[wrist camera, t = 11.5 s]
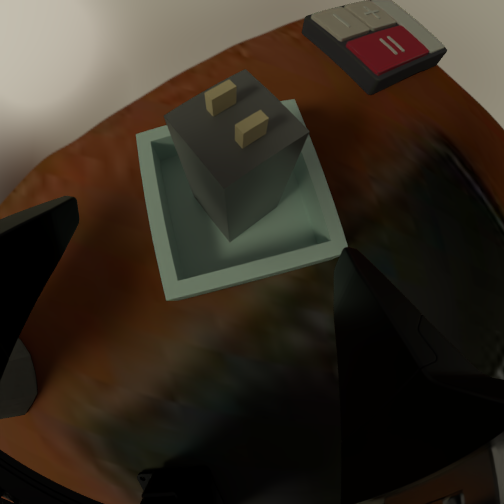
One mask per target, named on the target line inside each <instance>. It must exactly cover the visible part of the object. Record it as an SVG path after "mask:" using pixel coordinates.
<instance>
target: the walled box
mask: <svg viewBox="0 0 504 504" xmlns="http://www.w3.org/2000/svg"><path fill="white" fill-rule="evenodd" d="M280 102H281V103H282V104H283V105H284V106H285V107H286V108H287V109H288V110H289V111H290V112H291V113H292V114H293V115H294V116H295V117H296V118H297V119H298V120H299V121H300V122H301V123H302V124H303V125H304V126H305V123H304V121H303V118H302V116H301V114H300V111H299V109H298V107H297V104H296V102H295V99H293V100H286V101H280ZM305 127H306V126H305ZM136 139H137V147H138V155H139V162H140V169H141V176H142V182H143V189H144V195H145V201H146V206H147V212H148V218H149V223H150V228H151V233H152V238H153V243H154V248H155V253H156V258H157V262H158V267H159V271H160V276H161V280H162V284H163V289H164V293H165V297H166V301H172V300H182V299H186V298H190V297H194V296H198V295H202V294H206V293H210V292H214V291H218V290H221V289H225V288H229V287H233V286H237V285H241V284H244V283H248V282H252V281H256V280H259V279H263V278H267V277H271V276H274V275H278V274H282V273H285V272H289V271H292V270H296V269H300V268H303V267H307V266H310V265H314V264H317V263H321V262H325V261H328V260H331V259H334V258H336V257H338V256H340V255H341V252H342V250H343V248H345V247H348V245H347V242H346V239H345V236H344V232H343V229H342V226H341V223H340V220H339V217H338V214H337V210H336V207H335V204H334V201H333V199H332V196H331V193H330V190H329V187H328V184H327V181H326V178H325V176H324V173H323V170H322V167H321V165H320V162H319V159H318V157H317V154H316V151H315V149H314V146H313V143H312V141H311V138H310V136H309V135H308V137H307V139H306V141H305V144H304V146H303V148H302V151H301V153H300V155H299V157H298V160H297V162H296V164H295V167H294V169H293V171H292V173H291V176H290V178H289V180H288V183H287V185H286V187H285V189H284V192H283V194H282V196H281V198H280V201H279V203H278V205H277V207H276V208H275V209H274V210H272V211H271V212H269V213H268V214H267V215H265V216H264V217H263V218H261V219H260V220H259V221H257V222H256V223H255V224H254V225H252V226H251V227H250V228H248V229H247V230H246V231H244V232H243V233H242V234H240V235H239V236H238V237H236V238H235V239H234V240H232V241H231V242H229V241H228V240H227V238H226V237H225V236H224V235H223V233H222V232H221V231H220V230H219V228H218V227H217V226H216V224H215V223H214V222H213V221H212V219H211V218H210V217H209V215H208V214H207V213H206V212H205V210H204V209H203V208H202V206H201V205H200V204H199V203H198V201H197V200H196V199H195V197H194V195H193V192H192V190H191V187H190V185H189V182H188V180H187V177H186V174H185V172H184V169H183V167H182V164H181V161H180V159H179V156H178V153H177V151H176V148H175V145H174V143H173V140H172V137H171V135H170V132H169V129H168V127H167V125H166V126H162V127H158V128H155V129H152V130H148V131H145V132H142V133H139V134H136Z"/></svg>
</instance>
